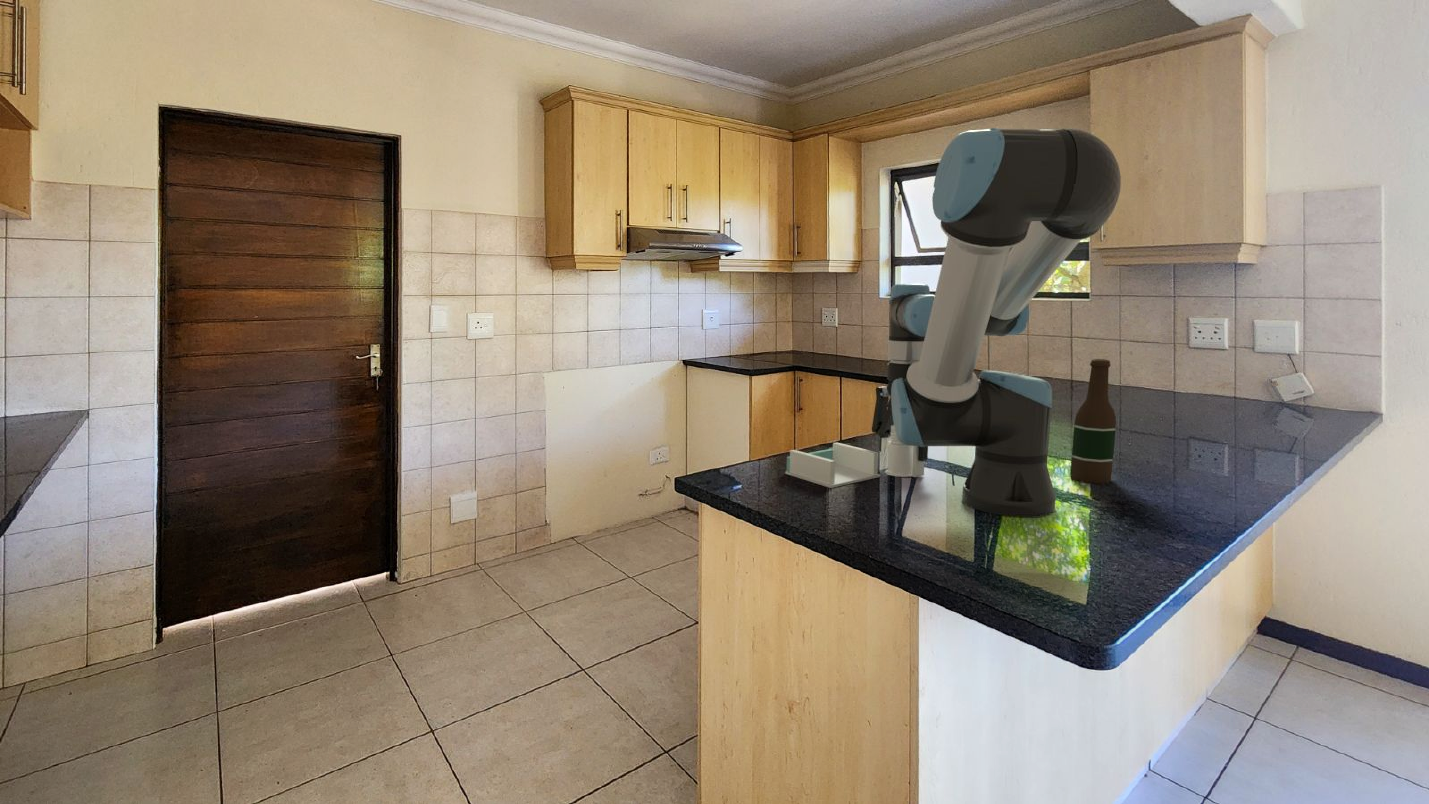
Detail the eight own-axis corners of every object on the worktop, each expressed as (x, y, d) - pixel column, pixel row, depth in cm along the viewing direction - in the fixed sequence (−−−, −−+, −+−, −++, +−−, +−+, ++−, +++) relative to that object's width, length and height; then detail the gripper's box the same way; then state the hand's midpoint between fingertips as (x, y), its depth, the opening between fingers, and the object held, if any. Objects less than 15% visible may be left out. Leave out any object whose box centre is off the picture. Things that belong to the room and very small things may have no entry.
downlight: (919, 469, 149) (919, 422, 147) (925, 477, 142) (925, 429, 140) (880, 469, 149) (880, 423, 148) (885, 478, 143) (884, 430, 141)
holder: (880, 476, 143) (881, 452, 142) (830, 488, 134) (831, 462, 134) (833, 464, 153) (834, 441, 152) (785, 473, 145) (785, 449, 144)
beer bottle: (1101, 474, 145) (1112, 358, 141) (1119, 485, 137) (1131, 362, 133) (1062, 473, 145) (1071, 357, 142) (1077, 483, 138) (1088, 361, 134)
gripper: (962, 364, 136) (955, 479, 140) (880, 356, 152) (876, 459, 156) (937, 367, 132) (931, 485, 135) (856, 358, 148) (852, 464, 152)
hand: (901, 471), depth 146 cm, fingers open, 7 cm apart
